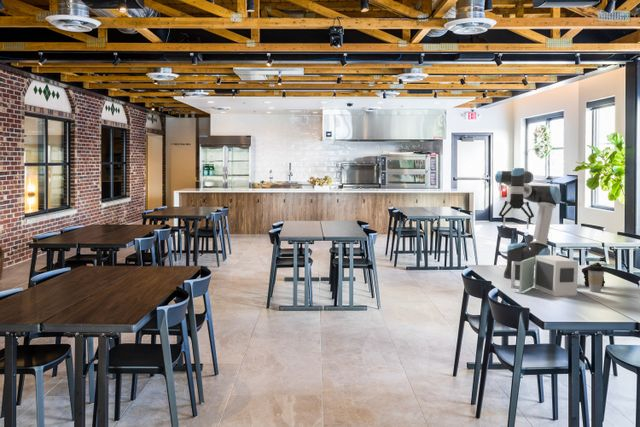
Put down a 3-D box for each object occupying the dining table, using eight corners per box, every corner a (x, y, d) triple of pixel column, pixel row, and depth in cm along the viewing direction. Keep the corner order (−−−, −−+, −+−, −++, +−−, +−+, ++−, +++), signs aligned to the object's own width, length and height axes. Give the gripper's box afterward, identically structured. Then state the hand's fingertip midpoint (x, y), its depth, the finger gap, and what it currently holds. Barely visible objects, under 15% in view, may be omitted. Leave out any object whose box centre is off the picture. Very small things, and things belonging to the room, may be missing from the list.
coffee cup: (596, 293, 327) (598, 268, 326) (582, 290, 335) (584, 266, 334) (607, 292, 331) (608, 267, 330) (593, 289, 339) (594, 264, 338)
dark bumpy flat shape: (610, 284, 345) (600, 263, 345) (589, 293, 347) (580, 271, 346) (607, 283, 349) (597, 262, 348) (587, 291, 350) (577, 270, 350)
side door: (522, 284, 346) (523, 255, 345) (533, 286, 342) (535, 257, 340) (509, 290, 328) (510, 260, 327) (521, 292, 324) (522, 261, 323)
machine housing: (533, 287, 342) (535, 255, 340) (555, 287, 344) (556, 255, 342) (554, 296, 319) (556, 261, 318) (577, 295, 321) (579, 261, 320)
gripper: (495, 193, 338) (493, 227, 340) (539, 194, 329) (537, 229, 331) (496, 192, 345) (494, 226, 347) (539, 193, 336) (537, 228, 338)
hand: (515, 228), depth 339 cm, fingers open, 13 cm apart
